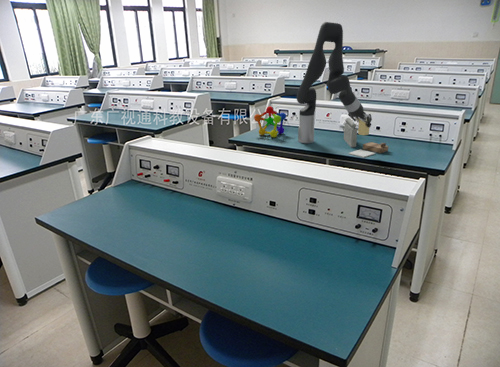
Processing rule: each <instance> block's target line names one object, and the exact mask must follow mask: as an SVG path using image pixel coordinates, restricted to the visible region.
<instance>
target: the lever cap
mask: <svg viewBox="0 0 500 367" xmlns="http://www.w3.org/2000/svg"><path fill="white" fill-rule="evenodd" d="M366 121H367V119H366ZM369 134H370V128H369V127H368V126H367V125H366V123H365V122H362V121H361V120H359V122H358V129H357V135H361V136H368V135H369Z"/></svg>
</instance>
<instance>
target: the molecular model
mask: <svg viewBox="0 0 500 367" xmlns="http://www.w3.org/2000/svg"><path fill="white" fill-rule="evenodd" d="M267 114H268V117H267V118H264V117H263V116H265V115H267ZM286 118H287V114H286V113H285V112H277V111H275V110H274V108H273V106H271V105H270V106H267V107H266V108H265V111H264V112H262V113H261V114H259V113H257V114H254V116H253V119H254V121H255V122H257V124H258V127H259V130H258V134H259V136H264V135H270V137H271V138H276V137H277V136H278V134H279V135H282V134H284V132H285V128H284V127H283V126H284V125H283V123H284V120H287V119H286ZM261 121H263V122H264V121H265V122H266V123H265V125H264V127H263V126H262V124H261ZM278 123H280V125H279V126H278ZM269 125H272V126H273V129H272V130H270V131H266V129H267V128H268V127H269Z"/></svg>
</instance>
